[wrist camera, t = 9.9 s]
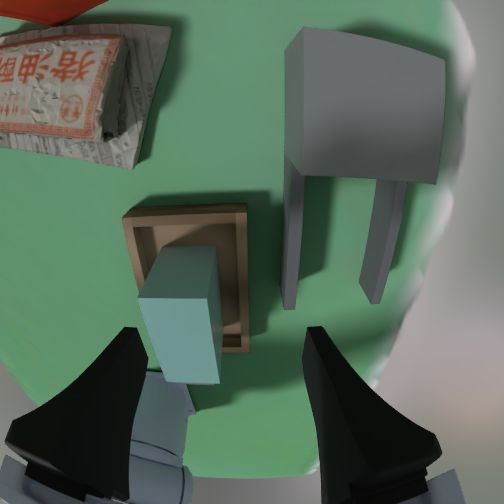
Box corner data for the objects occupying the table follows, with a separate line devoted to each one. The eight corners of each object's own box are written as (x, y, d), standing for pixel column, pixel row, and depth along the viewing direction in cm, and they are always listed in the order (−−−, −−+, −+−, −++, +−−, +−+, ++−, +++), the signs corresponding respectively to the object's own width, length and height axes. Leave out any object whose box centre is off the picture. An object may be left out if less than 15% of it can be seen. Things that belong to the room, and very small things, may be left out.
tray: (249, 337, 26) (249, 352, 24) (161, 336, 26) (157, 350, 24) (246, 202, 19) (246, 212, 18) (130, 208, 19) (121, 218, 18)
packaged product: (-52, 155, 11) (-36, 39, 7) (-17, 141, 15) (0, 39, 11) (113, 187, 14) (156, 10, 9) (141, 166, 18) (177, 30, 14)
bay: (367, 281, 23) (394, 329, 18) (279, 285, 23) (289, 340, 18) (393, 66, 14) (445, 60, 9) (284, 50, 14) (303, 27, 9)
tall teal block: (224, 338, 25) (221, 393, 20) (181, 337, 25) (170, 391, 20) (216, 245, 20) (206, 298, 15) (161, 246, 20) (137, 297, 15)
